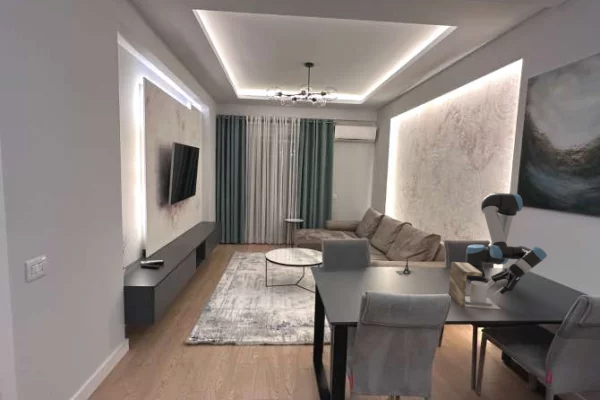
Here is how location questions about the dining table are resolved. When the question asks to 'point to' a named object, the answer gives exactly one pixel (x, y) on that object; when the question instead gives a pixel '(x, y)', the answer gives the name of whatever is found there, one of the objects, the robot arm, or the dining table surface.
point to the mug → (478, 291)
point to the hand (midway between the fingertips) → (489, 291)
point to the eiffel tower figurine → (405, 270)
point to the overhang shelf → (460, 280)
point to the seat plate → (488, 303)
